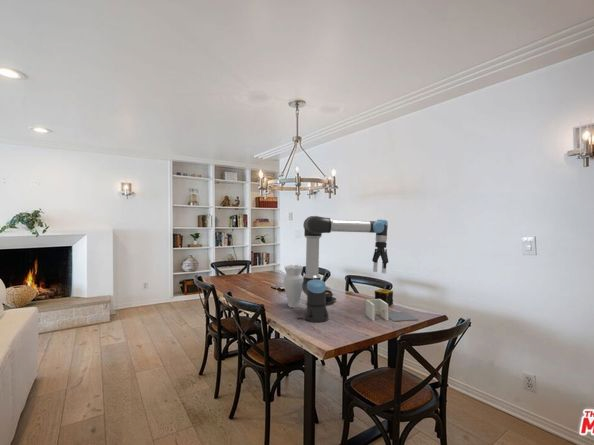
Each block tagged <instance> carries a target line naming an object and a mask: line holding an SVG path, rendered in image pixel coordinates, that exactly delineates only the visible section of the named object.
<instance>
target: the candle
mask: <svg viewBox="0 0 594 445" xmlns="http://www.w3.org/2000/svg"><path fill="white" fill-rule="evenodd" d="M393 298H394V291H393V290H390V289H386V288H385V289H384V288H379V289H376V290H374V299H381V300H383V301H384V302H386V303H387V304H388V307H390V306H391V305H393V304H394V299H393Z"/></svg>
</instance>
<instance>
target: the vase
mask: <svg viewBox="0 0 594 445" xmlns="http://www.w3.org/2000/svg"><path fill="white" fill-rule="evenodd" d="M303 268H304V267H303V265H299V264H294V265H293V264H289V265H285V266H284V270H285V273H286V274H285V276H284V277H283V288H284V292H285V295H286V299H287V306H289V307H288V308H291V307H293V309H294V308H295V309H296V308H299V307H300V300H301V297H302V293H303V289H302V283H303V275H302V271H303Z"/></svg>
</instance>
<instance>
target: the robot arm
mask: <svg viewBox="0 0 594 445" xmlns="http://www.w3.org/2000/svg"><path fill="white" fill-rule="evenodd" d="M388 224H389V223H388V220H386V219H377V220H375V221H374V220H355V219H354V220H352V219H351V220H349V219H332V218H330V217H325V216H318V215H312V216H311V215H310V216H308V217H307V218H306V219H304V221H303V229H304V230H303V231H304V235H303V236H304V237H305V239H306V250H305V251H306V252H305V253H306V254H305V274H304V275H302V277H303V283H302V292H303V293H304V294H305V296H306V298H307V299H306V308H305V312H304V320H306V321H307V322H312V323H323V322H326V321H328V320H329V312H328V309H327V306H326V305H327V304H326V290H327V287H326V286H327V285H326V283H325V281H324V280H321V277H322V276H321V275H320V274H319V268H320V267H319V266H320V265H319V264H320V261H319V259H320V251H319V250H320V238H322V236H323V235H322V234H330V233H332V232H341V233H343V232H344V233H371V234H373V233H375V244H374V245H375V246H374V247H375V248H374V252H373V256H372V259H371V260H372V262H373V267H372V270H373V271H372V272H374V273H378V264H379V262H378V260H379V258H381V261H382V263H381V274H387V264H388V263H389V256H388V249H387V245H388V243H387V241H388V240H387V239H388V227H389V226H388Z"/></svg>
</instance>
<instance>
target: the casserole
mask: <svg viewBox="0 0 594 445" xmlns="http://www.w3.org/2000/svg"><path fill="white" fill-rule="evenodd" d="M336 300H337V297H334V294H333V292H332V291H331V290H330V289H326V305H329V304H332V303H334V302H335V301H336Z"/></svg>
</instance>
